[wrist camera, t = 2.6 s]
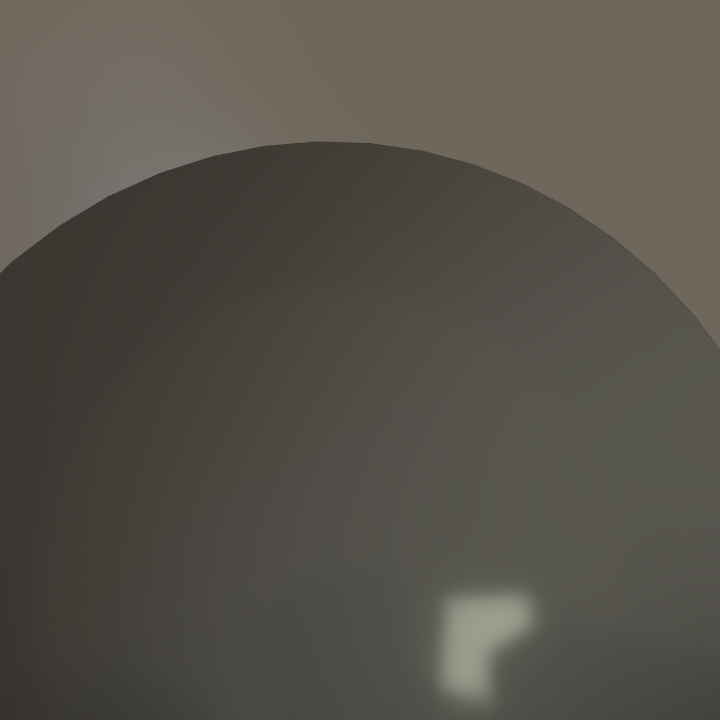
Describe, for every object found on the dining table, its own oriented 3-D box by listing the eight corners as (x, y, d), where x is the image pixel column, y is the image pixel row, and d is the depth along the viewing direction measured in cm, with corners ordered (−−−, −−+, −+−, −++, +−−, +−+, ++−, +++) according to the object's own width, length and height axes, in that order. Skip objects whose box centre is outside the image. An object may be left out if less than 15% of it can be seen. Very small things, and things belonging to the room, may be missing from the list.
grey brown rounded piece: (385, 734, 15) (647, 1489, 3) (146, 608, 16) (-436, 852, 4) (488, 485, 17) (905, 357, 5) (271, 379, 17) (168, 22, 5)
